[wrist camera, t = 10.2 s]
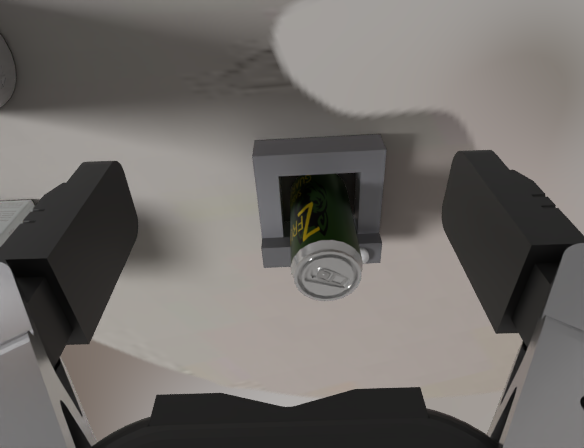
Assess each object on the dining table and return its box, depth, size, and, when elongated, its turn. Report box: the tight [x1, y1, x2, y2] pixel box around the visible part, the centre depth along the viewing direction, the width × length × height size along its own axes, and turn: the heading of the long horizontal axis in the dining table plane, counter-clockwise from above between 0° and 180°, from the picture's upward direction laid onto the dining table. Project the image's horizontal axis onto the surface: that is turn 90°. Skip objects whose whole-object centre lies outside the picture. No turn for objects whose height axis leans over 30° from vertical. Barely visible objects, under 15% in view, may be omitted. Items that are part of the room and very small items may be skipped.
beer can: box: [290, 174, 363, 301], centre depth 36 cm, size 5×5×12 cm
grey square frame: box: [252, 134, 386, 268], centre depth 38 cm, size 11×11×5 cm
